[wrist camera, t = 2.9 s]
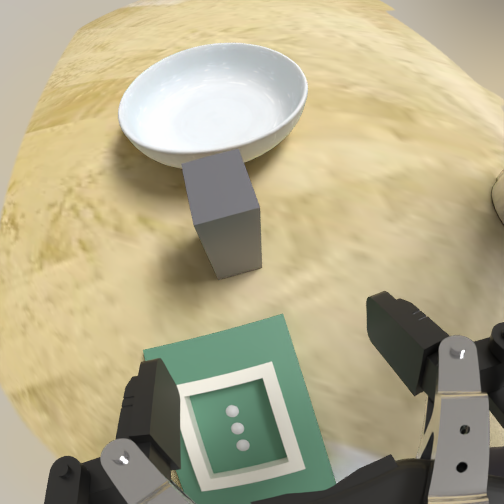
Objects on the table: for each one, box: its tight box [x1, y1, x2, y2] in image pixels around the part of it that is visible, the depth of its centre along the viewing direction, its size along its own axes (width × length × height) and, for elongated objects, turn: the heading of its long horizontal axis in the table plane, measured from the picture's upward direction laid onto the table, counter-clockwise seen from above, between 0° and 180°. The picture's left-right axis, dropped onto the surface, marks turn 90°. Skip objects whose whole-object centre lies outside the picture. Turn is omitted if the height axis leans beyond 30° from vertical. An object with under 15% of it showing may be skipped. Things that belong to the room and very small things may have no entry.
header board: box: [143, 314, 336, 504], centre depth 20 cm, size 16×12×3 cm
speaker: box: [488, 446, 504, 477], centre depth 12 cm, size 8×6×10 cm
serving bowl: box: [118, 43, 308, 169], centre depth 31 cm, size 21×21×7 cm
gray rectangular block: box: [181, 149, 262, 280], centre depth 23 cm, size 5×4×10 cm
